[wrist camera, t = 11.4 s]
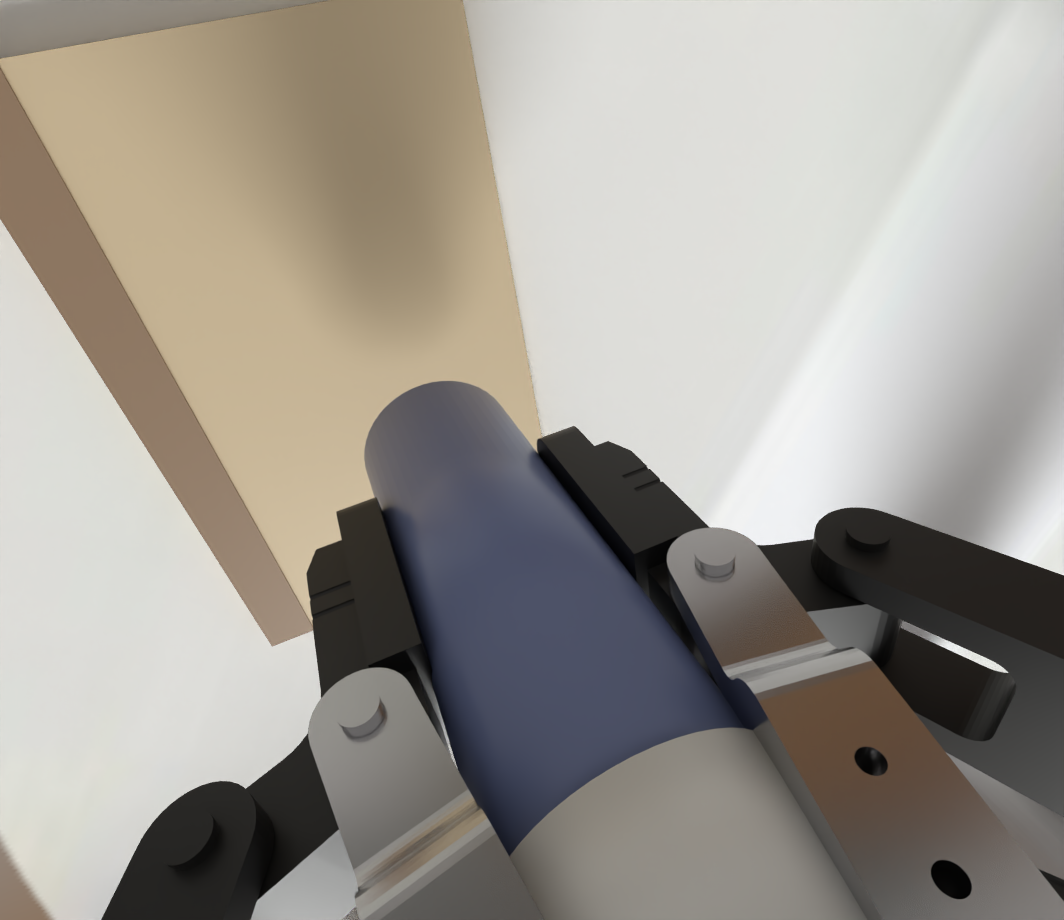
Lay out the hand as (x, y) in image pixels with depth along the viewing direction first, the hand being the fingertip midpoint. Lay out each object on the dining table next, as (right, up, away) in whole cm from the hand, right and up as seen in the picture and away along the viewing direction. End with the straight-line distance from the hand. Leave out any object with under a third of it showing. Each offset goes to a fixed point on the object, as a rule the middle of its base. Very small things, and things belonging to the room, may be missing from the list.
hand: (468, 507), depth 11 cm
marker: (-1, +1, +2) cm, 2 cm away
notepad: (-3, +3, +4) cm, 6 cm away
